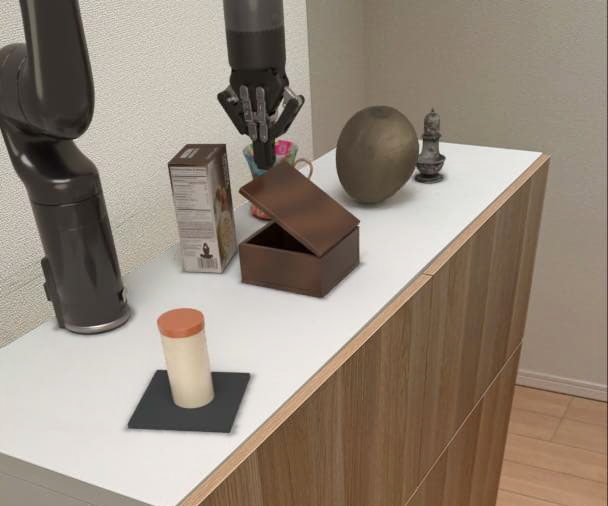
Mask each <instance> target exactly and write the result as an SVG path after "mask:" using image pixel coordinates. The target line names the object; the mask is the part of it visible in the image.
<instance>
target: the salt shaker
mask: <svg viewBox="0 0 608 506" xmlns="http://www.w3.org/2000/svg"><path fill="white" fill-rule="evenodd" d="M440 127H441V116H440V114H438V113H437V112H435V108H434V107H432V108H431V109H430V112H429V113H427V114H426V115H425V116H424V118H423V132H422V134H421V135H420V138H422V144H421V145H422V146H421V151H420V152H419V156H418V161H417V165H416V168H415V169H416V170H417V171H418V172H419V173H417V174H416V175H415V176H414V180H415V181H416V182H418V183H421V184H434V183H439V182H441V181H443V179H444V176H443V175H442V174H440V173H439V172H440V171H441V170H442V169H443V167H444V165H445V161H446V160H447V157H446V156H445V155H444V154H442V153H440V139H441V137H442V134H441V133H440Z"/></svg>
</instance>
